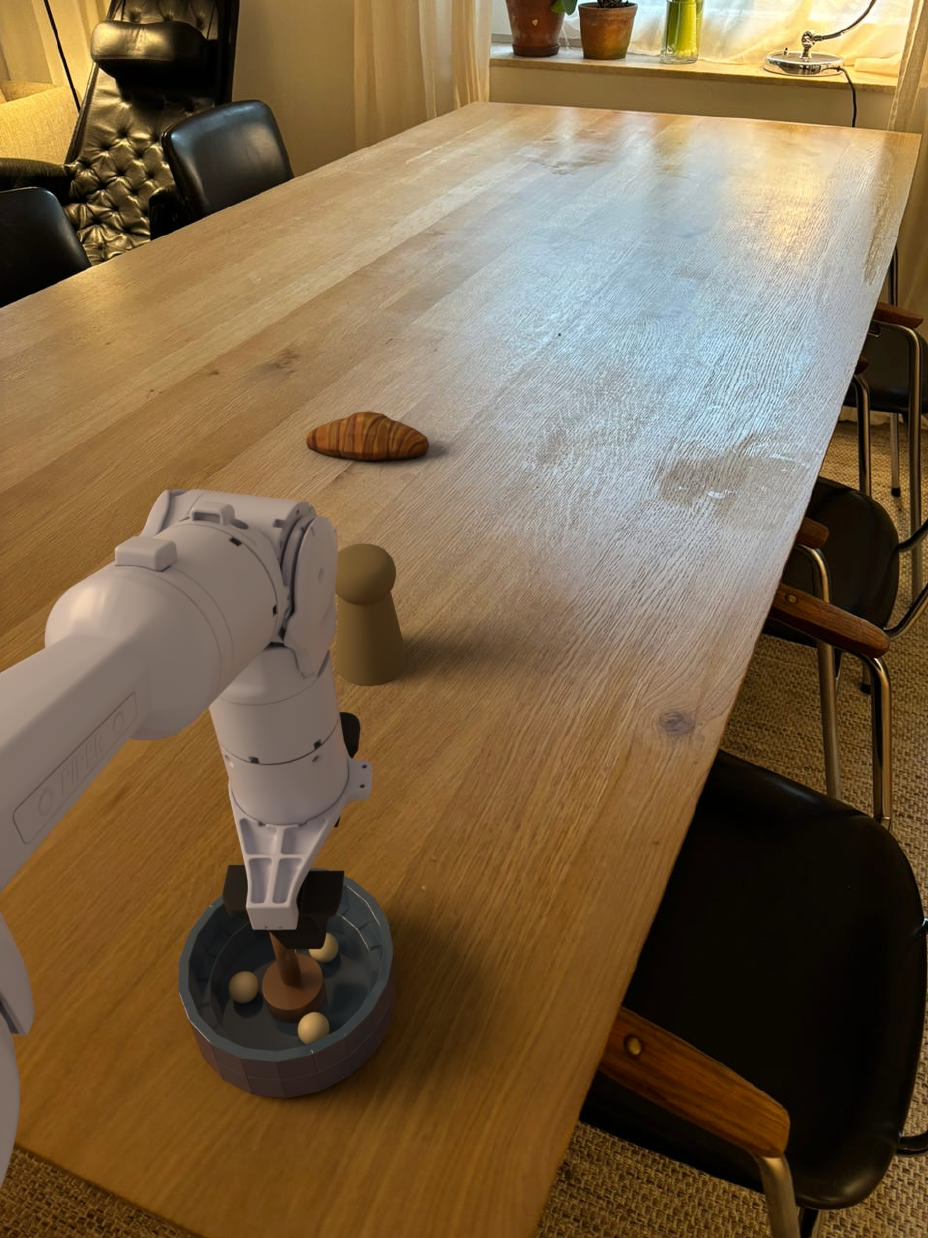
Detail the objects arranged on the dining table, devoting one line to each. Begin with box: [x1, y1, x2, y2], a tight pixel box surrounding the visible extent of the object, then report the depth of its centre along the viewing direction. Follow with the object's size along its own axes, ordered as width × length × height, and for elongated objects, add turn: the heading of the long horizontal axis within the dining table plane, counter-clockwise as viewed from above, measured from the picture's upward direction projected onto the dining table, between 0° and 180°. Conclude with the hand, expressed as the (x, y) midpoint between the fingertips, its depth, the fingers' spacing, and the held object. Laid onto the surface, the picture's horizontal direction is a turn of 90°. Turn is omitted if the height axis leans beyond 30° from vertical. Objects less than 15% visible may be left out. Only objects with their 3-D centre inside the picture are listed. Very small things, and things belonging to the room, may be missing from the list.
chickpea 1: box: [229, 971, 259, 1003], centre depth 59 cm, size 2×2×2 cm
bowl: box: [177, 867, 399, 1099], centre depth 59 cm, size 12×12×5 cm
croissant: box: [305, 410, 430, 462], centre depth 106 cm, size 14×7×5 cm, turn 84°
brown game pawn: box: [334, 543, 408, 687], centre depth 80 cm, size 6×6×11 cm
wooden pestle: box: [262, 932, 326, 1023], centre depth 57 cm, size 4×4×9 cm
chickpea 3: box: [298, 1012, 329, 1045], centre depth 57 cm, size 2×2×2 cm
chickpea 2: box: [309, 933, 338, 963], centre depth 61 cm, size 2×2×2 cm
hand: (313, 879), depth 55 cm, fingers open, 7 cm apart
